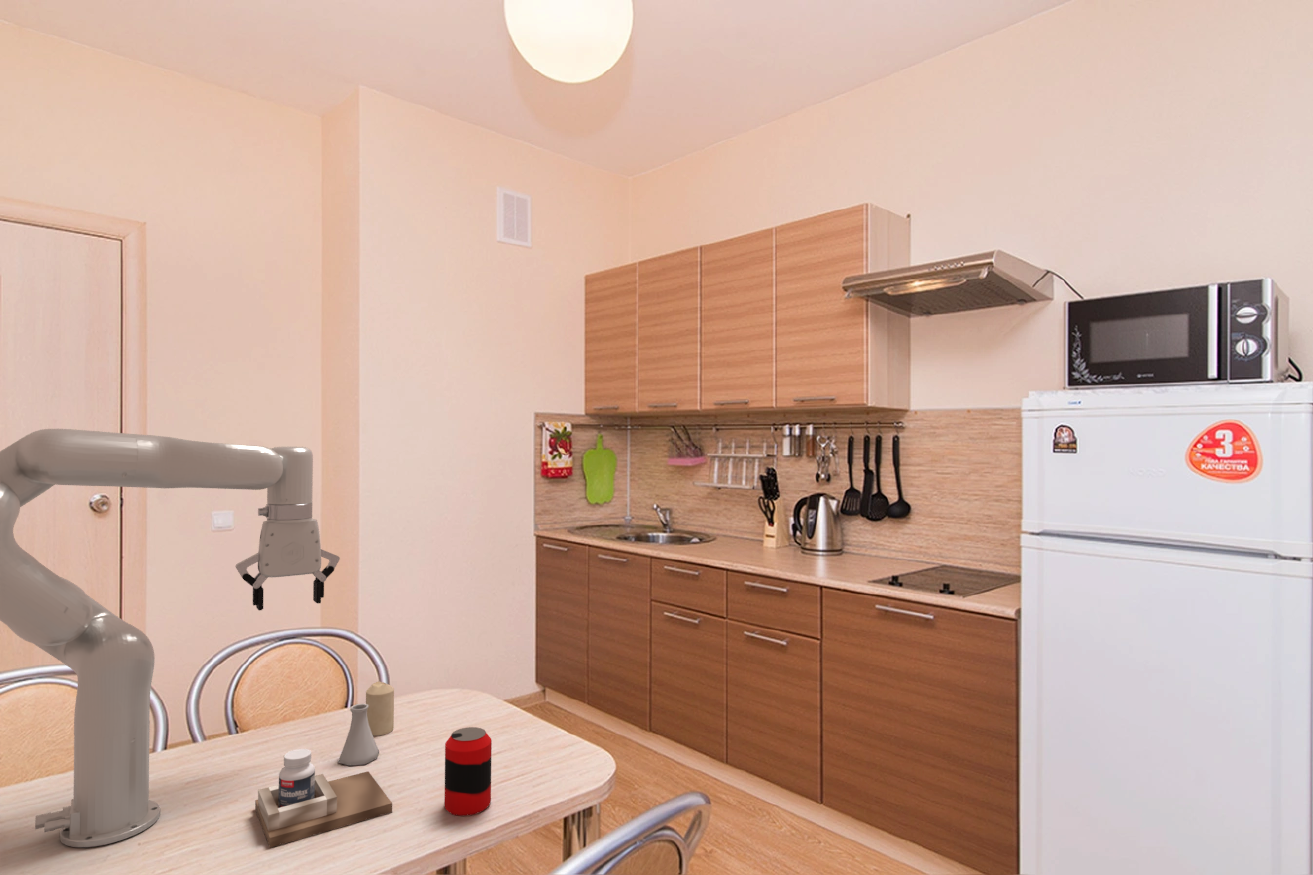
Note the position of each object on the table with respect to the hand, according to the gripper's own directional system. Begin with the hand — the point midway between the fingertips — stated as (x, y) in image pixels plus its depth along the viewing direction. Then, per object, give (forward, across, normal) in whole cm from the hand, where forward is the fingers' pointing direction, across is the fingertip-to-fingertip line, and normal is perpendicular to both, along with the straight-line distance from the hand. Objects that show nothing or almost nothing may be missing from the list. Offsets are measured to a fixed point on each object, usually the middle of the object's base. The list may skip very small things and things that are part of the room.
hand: (288, 605), depth 135 cm
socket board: (+30, +2, -20) cm, 36 cm away
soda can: (+31, +22, -32) cm, 49 cm away
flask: (+31, +12, -3) cm, 33 cm away
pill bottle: (+29, -2, -20) cm, 35 cm away
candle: (+31, +19, +8) cm, 37 cm away
